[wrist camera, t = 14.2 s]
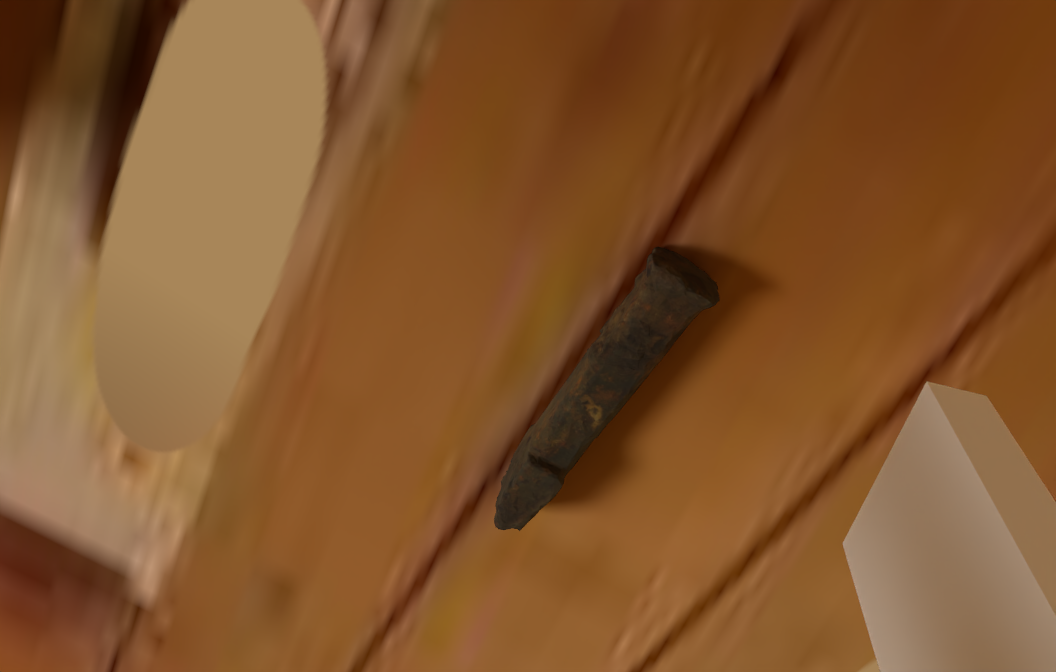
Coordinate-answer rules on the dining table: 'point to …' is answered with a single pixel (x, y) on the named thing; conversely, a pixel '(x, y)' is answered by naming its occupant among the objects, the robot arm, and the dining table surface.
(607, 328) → the hand tool
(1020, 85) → the dining table surface
